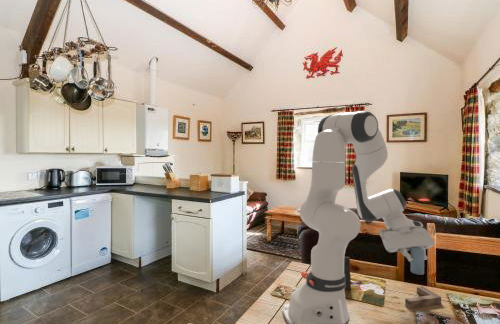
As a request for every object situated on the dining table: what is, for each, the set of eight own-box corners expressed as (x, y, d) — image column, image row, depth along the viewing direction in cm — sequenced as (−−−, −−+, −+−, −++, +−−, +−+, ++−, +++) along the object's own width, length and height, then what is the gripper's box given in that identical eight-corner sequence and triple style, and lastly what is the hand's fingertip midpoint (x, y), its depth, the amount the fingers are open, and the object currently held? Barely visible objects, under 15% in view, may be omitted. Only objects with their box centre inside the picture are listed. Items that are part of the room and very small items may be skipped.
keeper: (416, 275, 101) (417, 251, 100) (407, 270, 105) (407, 247, 105) (426, 274, 102) (427, 250, 101) (417, 269, 106) (417, 246, 106)
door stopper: (351, 290, 110) (351, 261, 109) (335, 288, 111) (335, 260, 111) (347, 280, 119) (347, 253, 118) (333, 278, 120) (333, 252, 120)
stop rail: (409, 308, 96) (409, 301, 96) (392, 296, 105) (392, 289, 105) (441, 303, 99) (441, 297, 99) (422, 292, 107) (422, 286, 107)
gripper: (381, 225, 107) (399, 259, 98) (424, 222, 111) (446, 254, 102) (373, 233, 112) (390, 266, 103) (416, 230, 116) (435, 261, 107)
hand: (418, 260), depth 102 cm, fingers closed on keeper, 4 cm apart
